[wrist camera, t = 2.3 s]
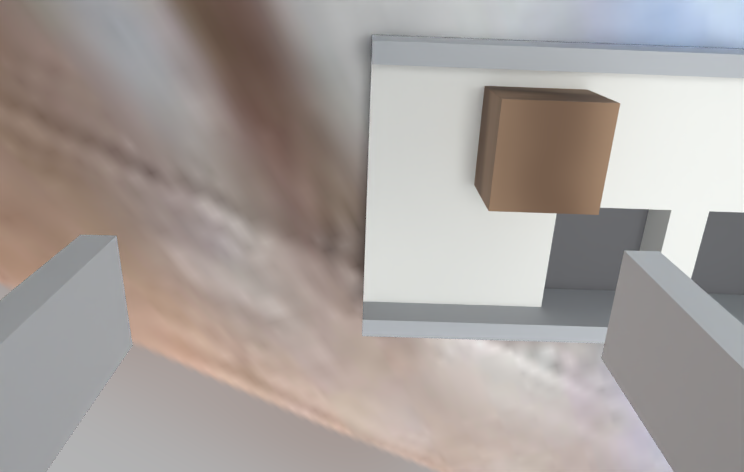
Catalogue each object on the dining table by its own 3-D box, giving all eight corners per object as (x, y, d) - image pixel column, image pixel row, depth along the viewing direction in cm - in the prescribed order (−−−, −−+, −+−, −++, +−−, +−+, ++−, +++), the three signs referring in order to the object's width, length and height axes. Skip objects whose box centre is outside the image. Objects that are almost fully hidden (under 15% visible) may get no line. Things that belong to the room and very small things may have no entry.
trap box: (363, 296, 35) (362, 335, 31) (372, 34, 30) (372, 40, 25) (851, 311, 36) (915, 352, 32) (953, 56, 30) (1047, 66, 26)
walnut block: (474, 184, 30) (488, 211, 26) (484, 85, 28) (501, 98, 24) (570, 188, 30) (598, 214, 26) (587, 89, 28) (620, 103, 24)
